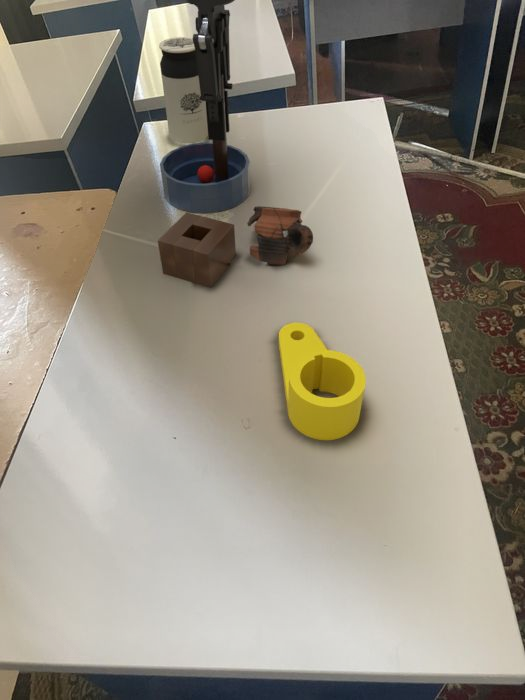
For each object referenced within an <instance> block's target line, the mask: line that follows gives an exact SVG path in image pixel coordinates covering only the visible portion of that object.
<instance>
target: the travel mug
mask: <svg viewBox="0 0 525 700" xmlns="http://www.w3.org/2000/svg"><path fill="white" fill-rule="evenodd" d="M158 47H159V49H160V51H161V55H162V56H161V60H160V62H159V67H160V73H161V82H162V90H163V97H164V105H165V113H166V121H167V129H168V136H169V139H170V140H171V141H173V142H175V143H177V144H185V145H189V144H194V143H201V142H202V141H204V140H206V139H207V138H208V127H207V114H206V101H202V100H200V98H199V97H200V96H201V93H200V84H199V76H198V67H197V59H196V51H195V47H194V43H193V37H187V36H178V37H177V36H174V37H170V38H169V37H168V38H166V39H163V40H162V41H160V42H159V44H158Z"/></svg>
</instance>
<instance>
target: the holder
mask: <svg viewBox="0 0 525 700" xmlns="http://www.w3.org/2000/svg"><path fill="white" fill-rule="evenodd" d="M235 231H236V230H235V224H234V223H229V222H227V221H226V222H225V221H222V220H218V219H214V218H211V217H208V216H207V217H206V216H202V215H198V214H196V213H192V212H188V211H185V213H184V214H182V215H181V217H180V218H178V219H177V221H176V222H174V224H173V225H172V226H171V227H169V229H168V230H167V231H166V232H164V233H163V235H161V236H160V238H159V239H158V240H157V245H158V251H159V256H160V257H159V258H160V263H161V269H162V270H161V271H162V274H163V275H166V276H169V277H173V278H176V279H178V280H179V279H180V280H183V281H186V282H190V283H193V284H195V285H200V286H203V287H207V288H210V289H211V288H212V287H214V285H215V284H216V282H217V281H219V279H220V278H221V277H222V275H223V274H224V273H225V271H226V270H227V268H229V266H230V265H231V264H232V263H230V261H231V260H232V259H233V258H234V257H235V255H236V253H237V252H236V236H235V235H236V234H235Z"/></svg>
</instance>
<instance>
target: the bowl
mask: <svg viewBox="0 0 525 700" xmlns="http://www.w3.org/2000/svg"><path fill="white" fill-rule="evenodd" d="M227 156H228V175H229V179H227V180H224V181H220V182H215V171H214V157H213V143H212V142H211V141H209V142H208V141H206V142H196V143H189V144H185V145H181V146H178V147H177V148H174V149H172V150H171V151H169V152H168V153H166V155H164V156H163V157H162V159H161V160H160V163H159V169H160V175H161V183H162V189H163V195H164V199H165V201H167V203H169V205H170V206H172V207H174V208H176V209H177V210H180V211H184V212H187V213H191V214H214V213H220V212H221V213H222V212H224V211H227V210H230V209H233V208H235V207H237V206H239V205H241V204H243V202H245V200H246V199H247V198H248V197H249V195H250V192H251V191H250V190H251V163H250V162H251V161H250V159H249V157H248V154H246V153H245V152H244V151H243V150H242V149H240V148H238V147H235V146H233V145H230V144H227ZM204 165H207V166H210V167H211V168H212V169H213V171H214V178H213V179H212V181H210V182H208V183H204V182H201V181H200V180H199V178H198V175H197V172H198V169H199V168H200V167H201V166H204Z"/></svg>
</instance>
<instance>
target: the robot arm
mask: <svg viewBox="0 0 525 700" xmlns="http://www.w3.org/2000/svg"><path fill="white" fill-rule="evenodd" d="M184 1H185V2H186V3H187V4H190V5H193V6H195V7H196V8H197V10H198V11H197V16H196V17H195V31H196V32H197V33H193V35H192V38H193V43H194V47H195V51H196V59H197V67H198V76H199V84H200V93H201V96H200V97H199V98H200V100H202V101H206V114H207V127H208V136H207V138H208V139H207V140H211V141H212V140H222V141H225V139H226V137H227V136H226V137H225V119H224V101H223V98H222V96H221V73H222V74H223V80H224V99H225V118H226V133H229V132H230V112H229V111H230V110H229V94H228V90H233V83H232V82H229V81H230V80H231V58H230V55H231V54H230V53H231V52H230V16H231V13H230V10H229V9H226V8H225V6H227V5H229V4H232V3H234V1H236V0H184Z"/></svg>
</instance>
